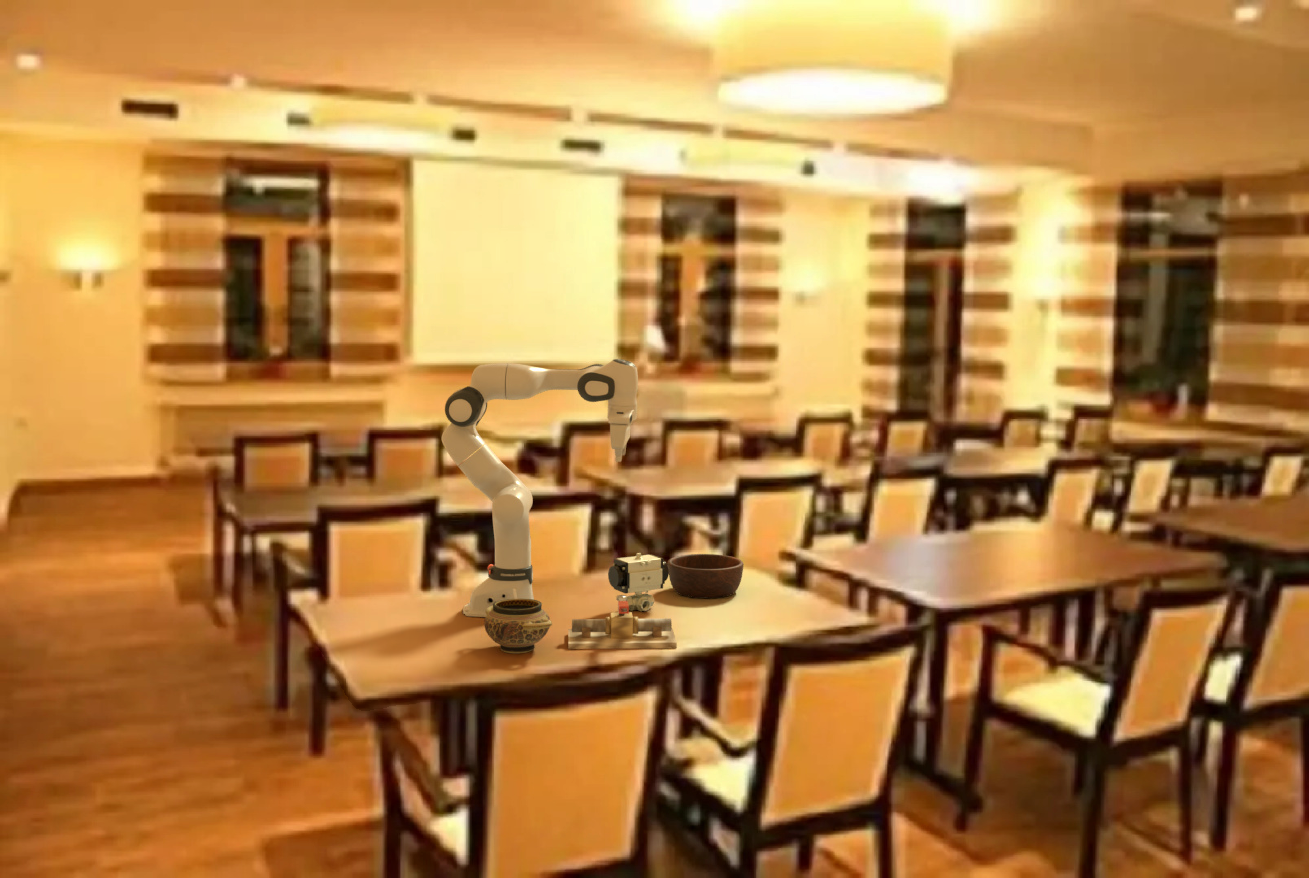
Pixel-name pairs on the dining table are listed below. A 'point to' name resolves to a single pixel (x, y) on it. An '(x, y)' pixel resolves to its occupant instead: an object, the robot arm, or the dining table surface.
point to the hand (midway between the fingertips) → (620, 458)
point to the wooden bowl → (705, 575)
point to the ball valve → (638, 578)
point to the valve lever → (622, 604)
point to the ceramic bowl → (516, 624)
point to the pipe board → (621, 643)
